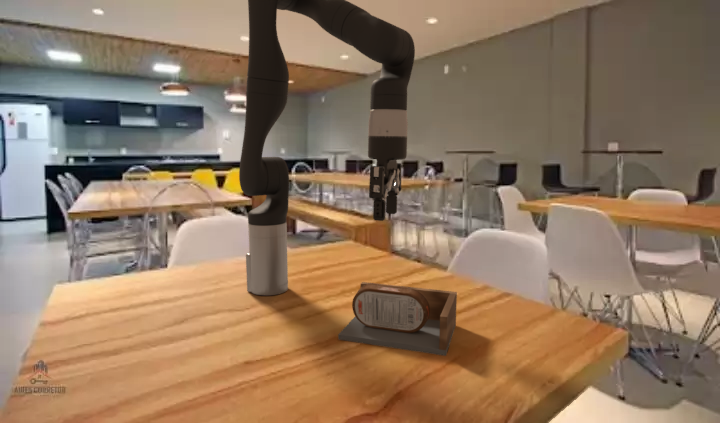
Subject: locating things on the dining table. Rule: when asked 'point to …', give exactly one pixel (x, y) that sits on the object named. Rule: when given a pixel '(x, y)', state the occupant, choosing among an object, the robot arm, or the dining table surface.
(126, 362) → the dining table surface
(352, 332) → the mat
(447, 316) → the walls
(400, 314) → the tin
